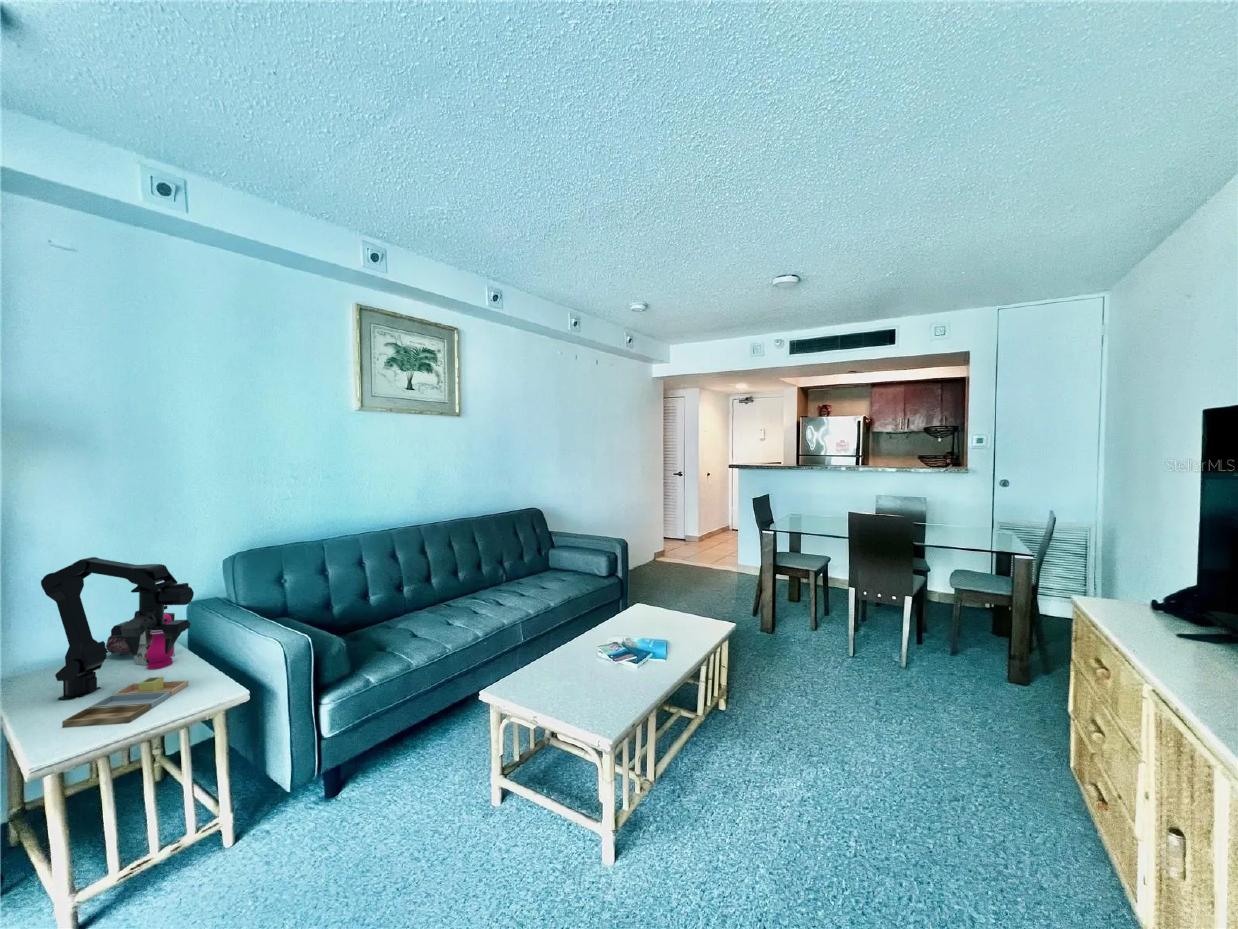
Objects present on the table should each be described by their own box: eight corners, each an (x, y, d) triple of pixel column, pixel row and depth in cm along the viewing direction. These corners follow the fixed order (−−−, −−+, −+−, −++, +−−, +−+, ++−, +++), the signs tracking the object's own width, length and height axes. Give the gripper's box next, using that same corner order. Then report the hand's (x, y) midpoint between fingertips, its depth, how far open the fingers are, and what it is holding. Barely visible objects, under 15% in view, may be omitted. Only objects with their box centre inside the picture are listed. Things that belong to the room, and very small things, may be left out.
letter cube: (138, 696, 147) (138, 683, 147) (149, 690, 151) (149, 677, 151) (153, 695, 147) (153, 682, 147) (163, 689, 151) (163, 676, 151)
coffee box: (147, 665, 170) (147, 620, 169) (133, 664, 171) (133, 619, 171) (175, 655, 178) (175, 612, 178) (162, 654, 180) (162, 611, 180)
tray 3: (112, 701, 144) (112, 694, 144) (132, 690, 151) (132, 683, 151) (171, 698, 147) (171, 690, 147) (188, 687, 154) (188, 680, 154)
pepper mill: (146, 672, 164) (146, 614, 164) (145, 665, 169) (145, 610, 169) (175, 665, 170) (174, 609, 170) (172, 659, 175) (172, 605, 175)
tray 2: (88, 714, 137) (88, 707, 137) (110, 702, 144) (110, 695, 144) (151, 710, 139) (151, 703, 139) (170, 698, 146) (170, 691, 146)
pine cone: (149, 656, 177) (149, 630, 177) (110, 666, 169) (110, 638, 169) (139, 645, 188) (139, 620, 188) (102, 654, 180) (102, 627, 180)
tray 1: (62, 729, 129) (62, 721, 129) (87, 715, 136) (86, 708, 136) (129, 724, 132) (129, 716, 132) (150, 711, 139) (150, 704, 139)
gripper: (93, 614, 142) (93, 666, 142) (163, 612, 144) (163, 663, 144) (127, 603, 153) (127, 651, 153) (191, 601, 155) (191, 649, 155)
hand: (151, 654), depth 151 cm, fingers open, 9 cm apart
